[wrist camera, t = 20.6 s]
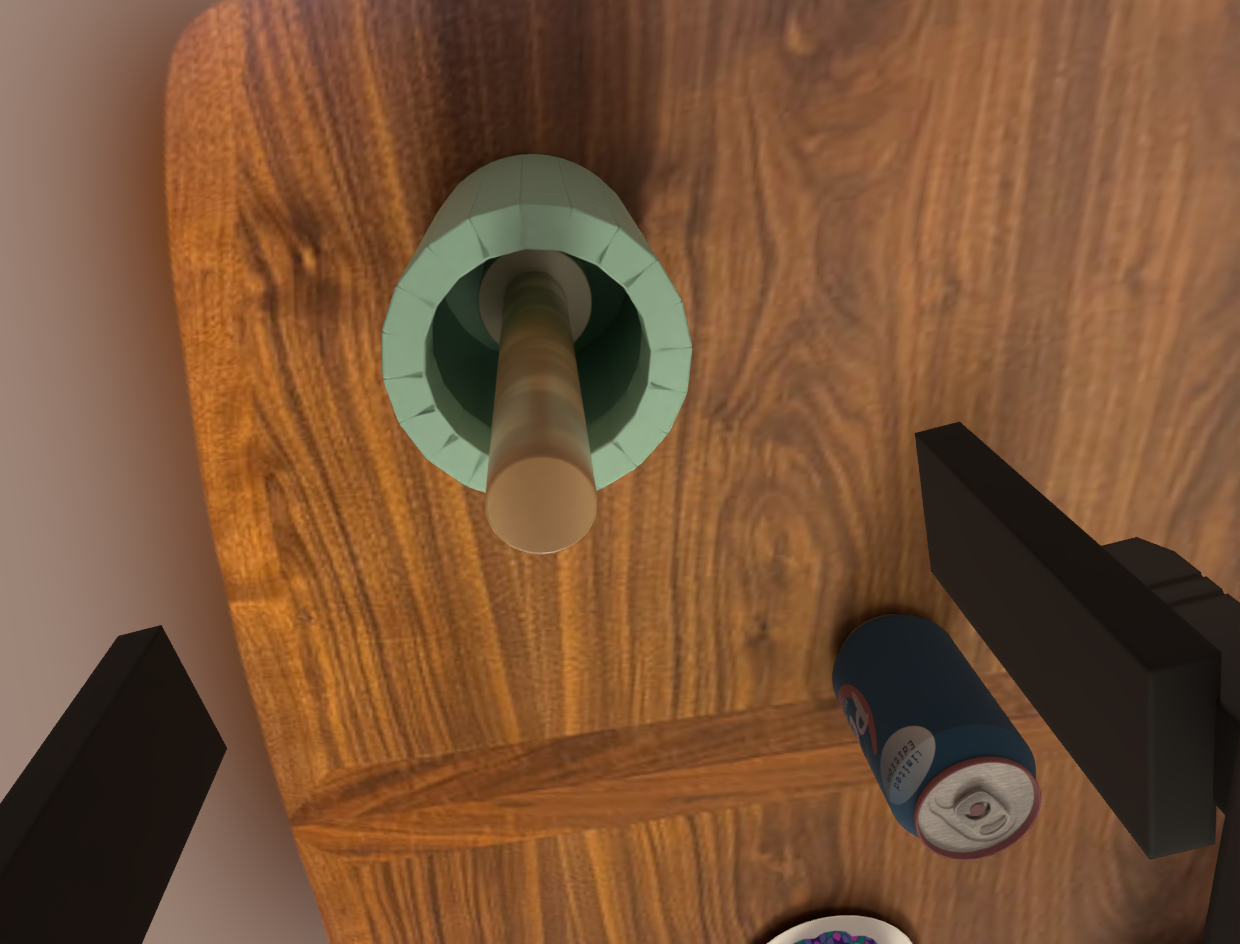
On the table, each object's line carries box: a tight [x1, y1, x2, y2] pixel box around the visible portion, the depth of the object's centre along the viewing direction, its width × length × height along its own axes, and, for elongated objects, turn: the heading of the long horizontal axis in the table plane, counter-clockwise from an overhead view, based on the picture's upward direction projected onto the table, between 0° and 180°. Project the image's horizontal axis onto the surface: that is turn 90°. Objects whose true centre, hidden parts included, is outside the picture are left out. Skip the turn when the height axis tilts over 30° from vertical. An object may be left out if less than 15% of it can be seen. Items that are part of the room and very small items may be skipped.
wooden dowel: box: [478, 249, 598, 555], centre depth 31 cm, size 4×4×24 cm
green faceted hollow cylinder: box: [382, 154, 692, 493], centre depth 36 cm, size 9×9×15 cm
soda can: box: [832, 614, 1041, 860], centre depth 48 cm, size 7×7×12 cm
